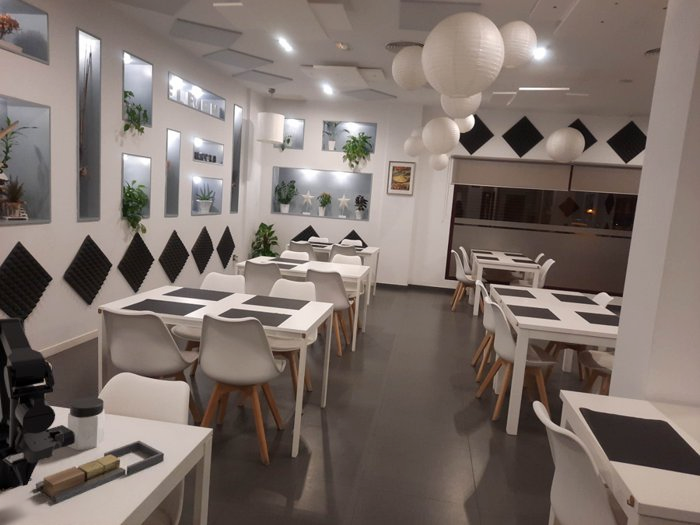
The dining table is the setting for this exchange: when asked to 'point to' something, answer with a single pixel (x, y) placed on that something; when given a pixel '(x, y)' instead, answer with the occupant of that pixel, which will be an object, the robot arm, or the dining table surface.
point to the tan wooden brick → (63, 480)
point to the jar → (87, 422)
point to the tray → (138, 445)
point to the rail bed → (82, 486)
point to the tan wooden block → (109, 463)
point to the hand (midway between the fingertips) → (24, 484)
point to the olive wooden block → (91, 470)
